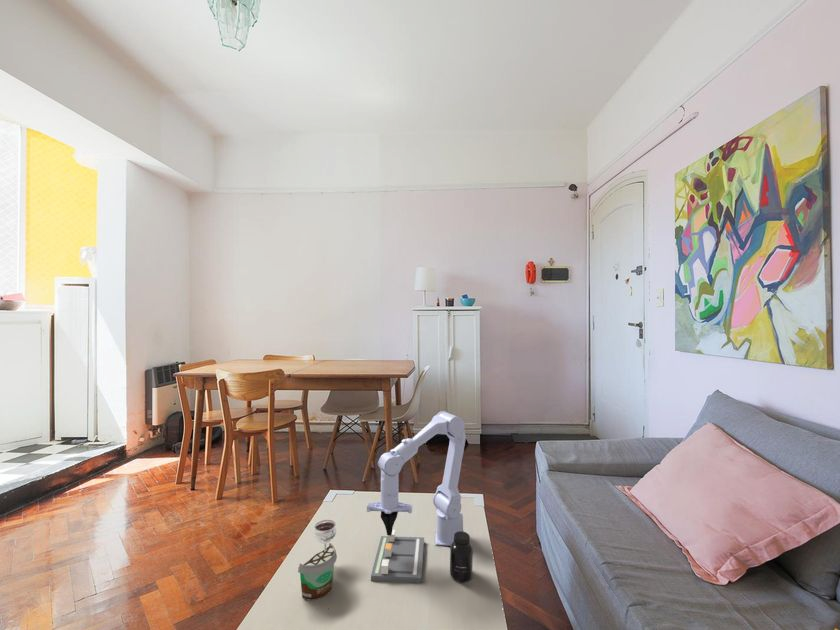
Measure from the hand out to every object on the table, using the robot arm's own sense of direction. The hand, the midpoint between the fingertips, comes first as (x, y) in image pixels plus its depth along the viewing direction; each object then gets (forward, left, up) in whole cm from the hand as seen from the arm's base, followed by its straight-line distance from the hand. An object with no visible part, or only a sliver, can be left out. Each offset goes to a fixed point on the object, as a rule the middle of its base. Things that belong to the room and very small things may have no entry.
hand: (389, 533), depth 120 cm
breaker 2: (0, -8, -6) cm, 10 cm away
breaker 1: (0, +8, -7) cm, 10 cm away
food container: (+17, +15, -8) cm, 24 cm away
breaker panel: (-3, 0, -8) cm, 9 cm away
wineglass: (+20, +3, -8) cm, 22 cm away
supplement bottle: (-23, +6, -8) cm, 25 cm away
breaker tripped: (0, 0, -7) cm, 7 cm away
